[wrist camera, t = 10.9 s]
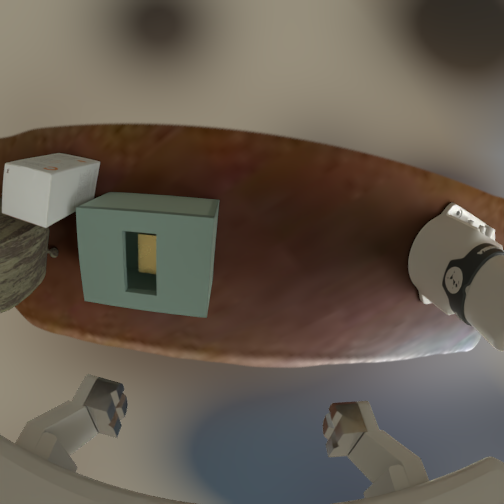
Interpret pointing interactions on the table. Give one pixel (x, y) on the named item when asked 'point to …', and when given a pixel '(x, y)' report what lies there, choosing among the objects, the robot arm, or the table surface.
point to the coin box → (167, 251)
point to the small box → (48, 187)
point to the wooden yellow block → (147, 253)
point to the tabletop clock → (21, 259)
